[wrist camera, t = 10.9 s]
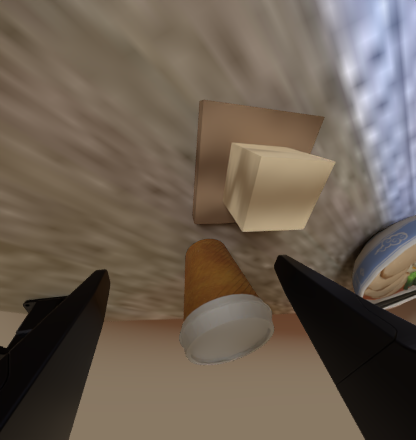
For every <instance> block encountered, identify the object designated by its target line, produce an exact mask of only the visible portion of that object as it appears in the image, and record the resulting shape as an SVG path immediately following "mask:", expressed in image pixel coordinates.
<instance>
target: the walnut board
mask: <svg viewBox="0 0 416 440" xmlns="http://www.w3.org/2000/svg"><path fill="white" fill-rule="evenodd" d="M323 120H324V117H321V116H314V115H307V114H300V113H293V112H286V111H279V110H272V109H265V108H258V107H251V106H244V105H237V104H229V103H222V102H215V101H208V100H202V101H200V102H199V118H198V134H197V150H196V166H195V182H194V198H193V214H192V216H193V220H194V223H195V224H215V223H236V221H235V219H234V218H233V216H232V215H231V213H230V212H229V210H228V209H227V207H226V205H225V204H224V202H223V201H222V200H223V194H224V188H225V181H226V175H227V169H228V163H229V157H230V150H231V144H232V143H242V144H254V145H265V146H277V147H287V148H291V149H294V150H298V151H301V152H304V153H308V154H310V153H311V150H312V148H313V145H314V143H315V140H316V138H317V135H318V133H319V130H320V127H321V125H322V122H323Z"/></svg>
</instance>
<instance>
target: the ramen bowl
mask: <svg viewBox="0 0 416 440" xmlns="http://www.w3.org/2000/svg"><path fill="white" fill-rule="evenodd" d="M352 282H353V287H354V291H355V294H357V295H359V296H360V297H362V298H364V299H366V300H368V301H369V302H371V303H373V304H375V305H377V306H379V307H381V308H382V309H387V308H391V307H395V306H398V305H400V304H402V303H405V302H407V301H409V300H412V299H414V298H416V215H415V216H411V217H409V218H406V219H404V220H402V221H400V222H397V223H395V224H393V225H391V226H390V227H388V228H387V229H385V230H382V231H380V232H378V233H377V234H376V235H374V236H373V237H372V238H371V239H370V240H369V241H368V242H367V243H366V244H365V246H364V248H363V249H362V251H361V253H360V254H359V256H358V257H357V259H356V260H355V264H354V268H353V273H352Z"/></svg>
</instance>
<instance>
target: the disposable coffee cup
mask: <svg viewBox="0 0 416 440" xmlns="http://www.w3.org/2000/svg"><path fill="white" fill-rule="evenodd" d="M273 332H274V325H273V322H272V311H271V309H270V307H269V306H268V305H267V304H266V303H264V302H263V301H262V300H261V298H259V297H258V296H257V294H256V293H255V291H254V289H253V288H252V286H251V285H250V284H249V282H248V280H247V279H246V277H245V276H244V274H243V273H242V272H241V270H240V269H239V267H238V265H237V264H236V262H235V261H234V259H233V258H232V256H231V255H230V253H229V252H228V250H227V249H226V247H225V246H224V244H223V243H222V242H220V241H218V240H215V239H204V240H200V241H198V242H196V243H194V244H193V245H192V246H191V247H190V248H189V249H188V251H187V253H186V256H185V294H184V323H183V325H182V330H181V332H180V336H179V341H180V343H181V345H182V347H184V350H185V354H186V357H187V358H188V360H189V361H190V362H192V363H195V364H199V365H215V364H222V363H226V362H230V361H234V360H236V359H239V358H242V357H244V356H246V355H248V354H250V353H252V352H254V351H256V350H257V349H259V348H260V347H262V346H263V345H264V344H265V343H266V342H267V341H268V340H269V339H270V338H271V337H272V335H273Z"/></svg>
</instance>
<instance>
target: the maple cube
mask: <svg viewBox="0 0 416 440" xmlns="http://www.w3.org/2000/svg"><path fill="white" fill-rule="evenodd" d="M334 164H335V161H332V160H328V159H325V158H321V157H318V156H315V155H311V154H308V153H304V152H301V151H298V150H294V149H291V148H287V147H277V146H265V145H254V144H242V143H232V144H231V150H230V157H229V163H228V169H227V175H226V181H225V188H224V194H223V200H222V201H223V202H224V204H225V205H226V207H227V209H228V210H229V212H230V213H231V215H232V216H233V218H234V219H235V221H236V223H237V224H238V226H239V227H240V229H241V230H242V232H252V231H275V230H299V229H304V227H305V225H306V223H307V221H308V219H309V217H310V214H311V212H312V210H313V208H314V206H315V204H316V202H317V200H318V198H319V196H320V194H321V191H322V189H323V187H324V185H325V183H326V181H327V179H328V177H329V175H330V173H331V170H332V168H333V166H334Z"/></svg>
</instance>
